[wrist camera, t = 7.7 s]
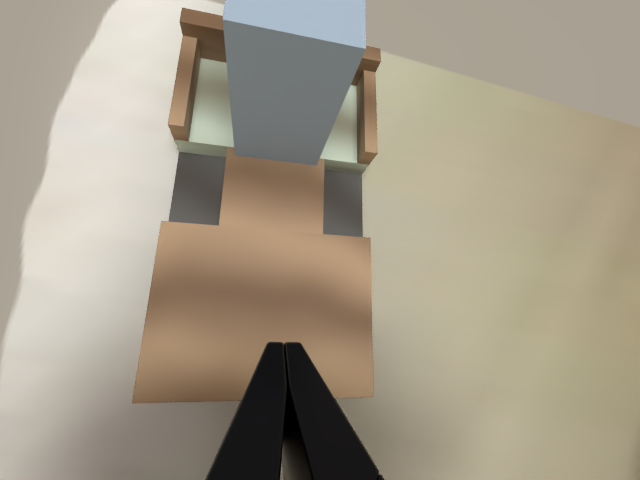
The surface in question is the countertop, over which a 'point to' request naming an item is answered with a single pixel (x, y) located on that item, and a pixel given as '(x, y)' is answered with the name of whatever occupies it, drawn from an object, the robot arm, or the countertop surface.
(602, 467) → the countertop surface
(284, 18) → the blue-grey block
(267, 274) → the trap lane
